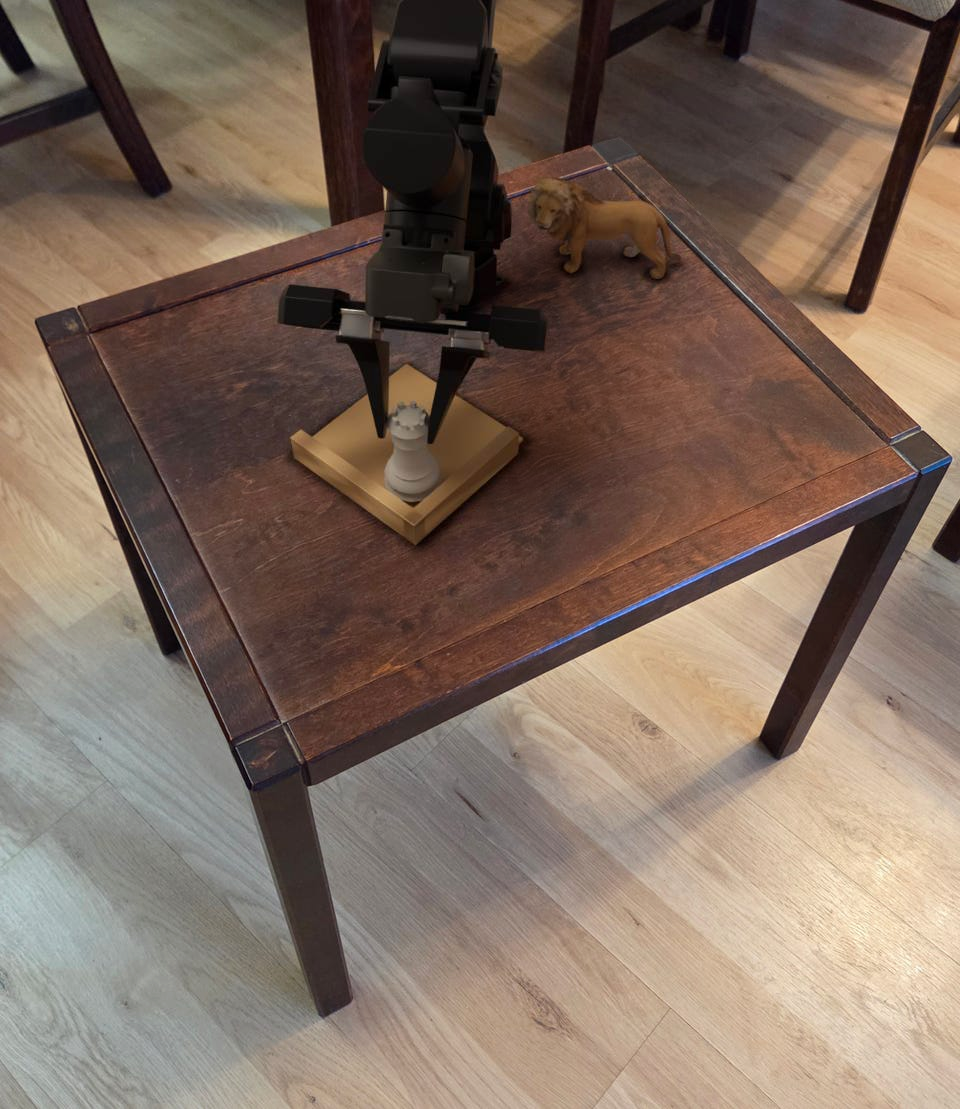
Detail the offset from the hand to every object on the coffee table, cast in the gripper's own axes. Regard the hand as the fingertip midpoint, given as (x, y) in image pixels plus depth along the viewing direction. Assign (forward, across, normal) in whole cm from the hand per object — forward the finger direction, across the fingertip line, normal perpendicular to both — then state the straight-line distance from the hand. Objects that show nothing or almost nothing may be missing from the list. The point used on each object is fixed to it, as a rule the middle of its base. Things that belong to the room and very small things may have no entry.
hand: (405, 440), depth 77 cm
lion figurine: (-16, +12, +27) cm, 34 cm away
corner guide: (+1, -1, +9) cm, 9 cm away
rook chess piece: (+4, 0, +6) cm, 7 cm away
